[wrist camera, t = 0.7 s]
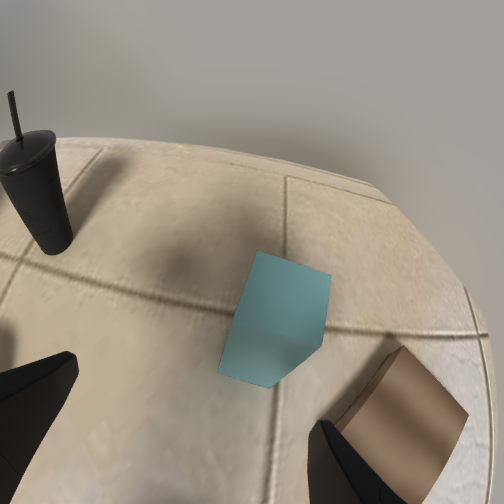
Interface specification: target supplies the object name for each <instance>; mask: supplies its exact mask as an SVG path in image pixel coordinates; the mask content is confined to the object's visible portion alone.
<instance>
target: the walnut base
mask: <svg viewBox="0 0 504 504" xmlns="http://www.w3.org/2000/svg"><path fill="white" fill-rule="evenodd" d="M468 416H469V414H468V413H467V412H466V411H465V410H464V409H463V407H462V406H461V405H460V404H459V403H458V402H457V401H456V400H455V399H454V398H453V397H452V395H451V394H450V393H449V392H448V391H447V390H446V389H445V388H444V387H443V386H442V385H441V384H440V383H439V381H438V380H437V379H436V378H435V377H434V376H433V375H432V374H431V373H430V372H429V371H428V370H427V369H426V368H425V367H424V366H423V365H422V364H421V363H420V362H419V360H418V359H417V358H416V357H415V356H414V355H413V354H412V353H411V352H410V351H409V350H408V349H407V348H406V347H405V346H402V347H401V348H399V349H397V350H396V351H394V352H393V353H391V354H389V355H388V356H387V358H386V359H385V361H384V362H383V364H382V365H381V367H380V368H379V370H378V371H377V372H376V374H375V375H374V377H373V378H372V379H371V381H370V382H369V383H368V385H367V386H366V387H365V389H364V390H363V391H362V393H361V394H360V395H359V396H358V398H357V399H356V400H355V401H354V403H353V404H352V405H351V406H350V408H349V409H348V410H347V411H346V412H345V414H344V415H343V416H342V417H341V418H340V419H339V421H338V422H337V423H336V424H335V425H334V426H335V427H336V428H337V429H338V431H339V432H340V433H341V434H342V435H343V436H344V437H345V439H346V440H347V441H348V442H349V443H350V444H351V445H352V447H353V448H354V449H355V450H356V451H357V452H358V453H359V454H360V456H361V457H362V458H363V459H364V460H365V461H366V462H367V463H368V464H369V466H370V467H371V468H372V469H373V470H374V471H375V472H376V473H377V474H378V475H379V476H380V477H381V479H382V480H383V481H384V482H385V483H386V484H387V485H388V486H389V487H390V488H391V489H392V490H393V491H394V492H395V493H396V494H397V495H398V496H400V497H401V498H402V499H403V500H404V501H405V502H407V503H408V504H422V502H423V501H424V499H425V498H426V496H427V495H428V493H429V492H430V490H431V489H432V487H433V485H434V484H435V482H436V480H437V479H438V477H439V475H440V474H441V472H442V470H443V468H444V467H445V465H446V463H447V461H448V459H449V457H450V455H451V453H452V451H453V449H454V447H455V445H456V443H457V441H458V439H459V437H460V435H461V432H462V430H463V428H464V426H465V423H466V421H467V418H468Z"/></svg>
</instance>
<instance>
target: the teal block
mask: <svg viewBox="0 0 504 504" xmlns="http://www.w3.org/2000/svg"><path fill="white" fill-rule="evenodd" d="M330 283H331V275H329V274H327V273H324V272H321V271H318V270H315V269H312V268H309V267H306V266H303V265H300V264H297V263H294V262H291V261H288V260H285V259H282V258H279V257H276V256H274V255H271V254H268V253H265V252H262V251H259V250H257V253H256V256H255V258H254V261H253V264H252V267H251V270H250V272H249V275H248V278H247V281H246V284H245V286H244V289H243V292H242V295H241V298H240V300H239V303H238V306H237V309H236V312H235V314H234V317H233V320H232V324H231V327H230V330H229V334H228V337H227V340H226V344H225V347H224V351H223V354H222V357H221V361H220V364H219V367H218V371H217V372H218V373H221V374H224V375H227V376H230V377H233V378H236V379H239V380H242V381H245V382H249V383H252V384H255V385H259V386H262V387H266V388H270V387H272V386H273V385H274V384H276V383H277V382H278V381H279V380H281V379H282V378H283V377H285V376H286V375H287V374H288V373H290V372H291V371H292V370H293V369H295V368H296V367H297V366H298V365H300V364H301V363H302V362H303V361H305V360H306V359H307V358H308V357H309V356H311V355H312V354H313V353H314V352H315V351H316V350H318V349H319V348H320V347H321V346H322V341H323V335H324V328H325V321H326V314H327V307H328V300H329V292H330Z"/></svg>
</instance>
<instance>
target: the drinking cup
mask: <svg viewBox="0 0 504 504" xmlns="http://www.w3.org/2000/svg"><path fill="white" fill-rule="evenodd" d="M7 95H8V101H9V106H10V112H11V116H12V121H13V126H14V130H15V134H16V138H14V139H13V140H12V141H10V142H9V143H8V144H7V145H6V146H5V147H4V148H3V150H2V151H1V152H0V181H1V183H2V185H3V187H4V189H5V191H6V193H7V195H8V196H9V198H10V200H11V202H12V204H13V205H14V207H15V209H16V210H17V212H18V214H19V215H20V217H21V219H22V220H23V222H24V224H25V225H26V227H27V228H28V230H29V231H30V233H31V234H32V236H33V238H34V239H35V240H36V242H37V243H38V245H39V246H40V248H41V249H42V251H43V252H44V253H45V254H47V255H57V254H60V253H61V252H63V251H64V250H66V249H67V248H68V246H69V245H70V244H71V241H72V238H73V234H72V230H71V226H70V222H69V218H68V214H67V210H66V206H65V202H64V197H63V193H62V188H61V183H60V177H59V171H58V165H57V159H56V152H55V143H56V136H55V134H54V133H53V132H52V131H50V130H40V131H30V132H27V133H24V134H22V132H21V128H20V124H19V119H18V114H17V108H16V103H15V97H14V91H11V92H9V93H8V94H7Z"/></svg>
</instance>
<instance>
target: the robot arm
mask: <svg viewBox="0 0 504 504" xmlns="http://www.w3.org/2000/svg"><path fill="white" fill-rule="evenodd" d="M78 374H79V368H78V362H77V357H76V355H75V354H73V353H71V352H69V351H64V352H61V353H58V354H56V355H53V356H50V357H47V358H44V359H41V360H38V361H35V362H32V363H29V364H26V365H23V366H20V367H17V368H14V369H11V370H8V371H5V372H2V373H0V504H10V502H11V500H12V497H13V495H14V493H15V491H16V489H17V487H18V485H19V483H20V481H21V479H22V477H23V475H24V473H25V471H26V469H27V467H28V465H29V463H30V461H31V460H32V458H33V456H34V454H35V452H36V451H37V449H38V447H39V445H40V444H41V442H42V440H43V438H44V437H45V435H46V433H47V432H48V430H49V428H50V427H51V425H52V423H53V422H54V420H55V418H56V417H57V415H58V413H59V412H60V410H61V409H62V407H63V405H64V403H65V401H66V399H67V397H68V395H69V393H70V391H71V389H72V387H73V385H74V383H75V381H76V379H77V377H78ZM307 473H308V486H309V499H310V504H408V503H407V502H405V501H404V500H403V499H402V498H401V497H400V496H398V495H397V494H396V493H395V492H394V491H393V490H392V489H391V488H390V487H389V486H388V485H387V484H386V483H385V482H384V481H383V480H382V479H381V477H380V476H379V475H378V474H377V473H376V472H375V471H374V470H373V469H372V468H371V467H370V466H369V464H368V463H367V462H366V461H365V460H364V459H363V458H362V457H361V456H360V454H359V453H358V452H357V451H356V450H355V449H354V448H353V447H352V445H351V444H350V443H349V442H348V441H347V440H346V439H345V437H344V436H343V435H342V434H341V433H340V432H339V431H338V429H337V428H336V427H335V426H334V425H333V424H332V422H331V421H329V420H321V419H320V420H318V421H317V422H316V424H315V425H314V427H313V428H312V430H311V431H310V433H309V438H308V464H307Z"/></svg>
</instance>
